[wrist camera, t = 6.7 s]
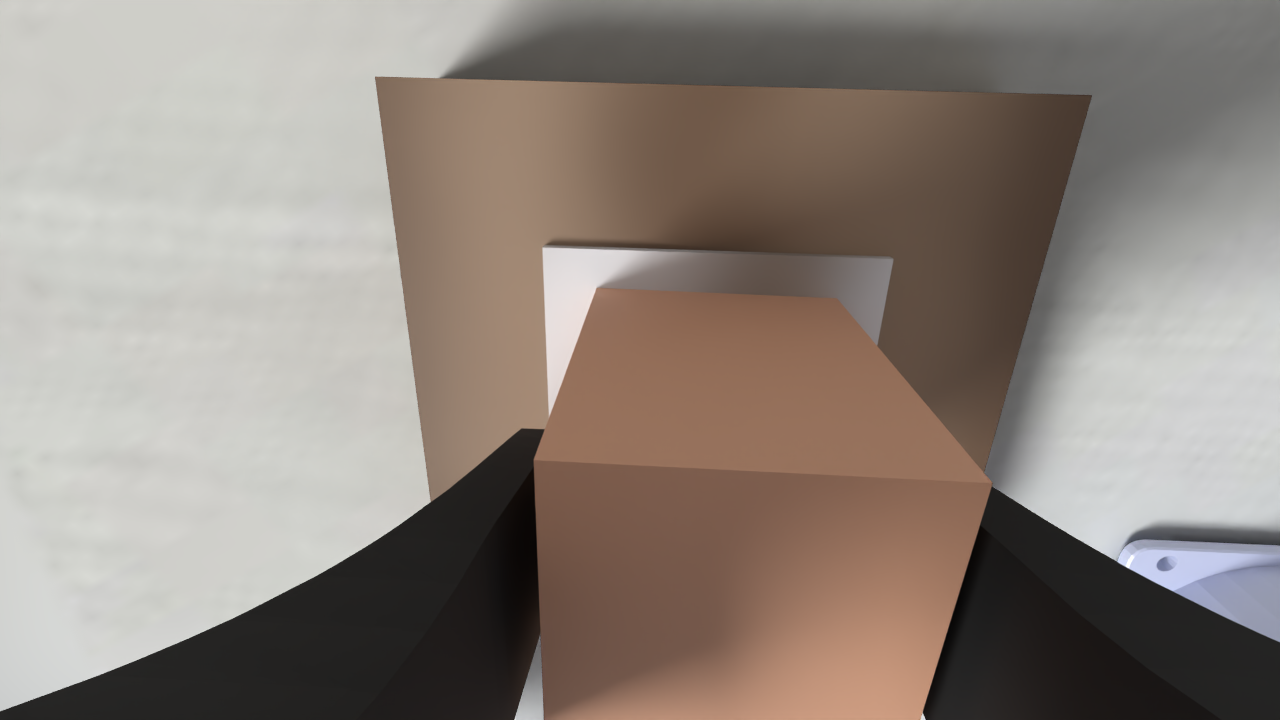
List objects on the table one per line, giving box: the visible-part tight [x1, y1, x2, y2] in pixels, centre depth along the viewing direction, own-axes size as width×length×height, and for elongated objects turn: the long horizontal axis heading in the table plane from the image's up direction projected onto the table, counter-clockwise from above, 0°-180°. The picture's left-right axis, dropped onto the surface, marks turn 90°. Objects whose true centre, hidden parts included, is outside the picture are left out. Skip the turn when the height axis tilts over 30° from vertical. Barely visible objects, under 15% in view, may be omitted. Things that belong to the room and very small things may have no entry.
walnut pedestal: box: [375, 77, 1092, 502], centre depth 14 cm, size 12×12×3 cm
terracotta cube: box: [534, 288, 993, 720], centre depth 10 cm, size 4×4×6 cm
